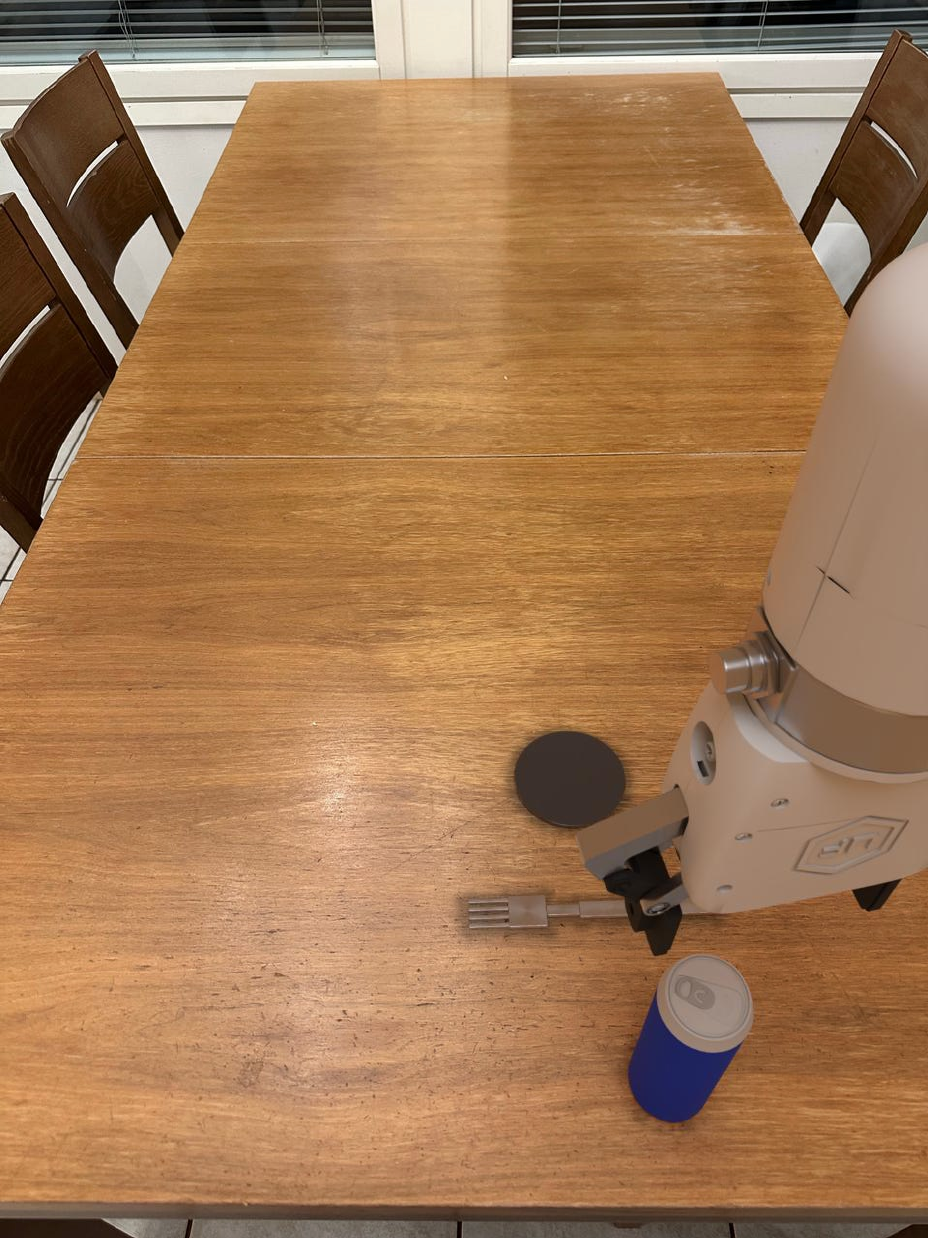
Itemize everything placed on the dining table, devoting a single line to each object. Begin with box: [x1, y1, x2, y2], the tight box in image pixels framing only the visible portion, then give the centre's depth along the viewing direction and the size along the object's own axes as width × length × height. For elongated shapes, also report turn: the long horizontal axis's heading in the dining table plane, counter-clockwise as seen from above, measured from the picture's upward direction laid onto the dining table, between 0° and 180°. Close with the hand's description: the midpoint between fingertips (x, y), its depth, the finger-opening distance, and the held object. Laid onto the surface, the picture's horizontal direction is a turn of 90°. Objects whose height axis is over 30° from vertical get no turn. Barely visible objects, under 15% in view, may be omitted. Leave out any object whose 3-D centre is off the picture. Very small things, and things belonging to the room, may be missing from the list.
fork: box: [467, 894, 718, 930], centre depth 69 cm, size 18×2×1 cm, turn 92°
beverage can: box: [627, 953, 755, 1123], centre depth 56 cm, size 5×5×15 cm
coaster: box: [513, 730, 627, 829], centre depth 77 cm, size 9×9×1 cm
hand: (753, 901), depth 42 cm, fingers open, 9 cm apart
